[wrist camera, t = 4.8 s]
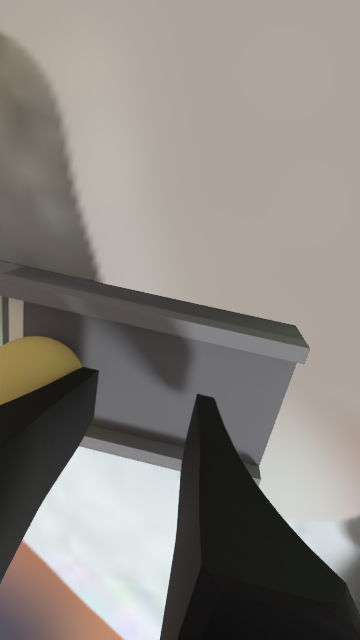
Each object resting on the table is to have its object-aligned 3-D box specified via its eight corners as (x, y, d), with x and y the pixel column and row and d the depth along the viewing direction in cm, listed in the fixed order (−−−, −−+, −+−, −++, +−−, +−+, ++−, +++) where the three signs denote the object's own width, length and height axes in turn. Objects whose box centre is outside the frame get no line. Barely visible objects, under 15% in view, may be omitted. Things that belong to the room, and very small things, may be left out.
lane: (295, 325, 13) (316, 359, 10) (251, 451, 15) (259, 507, 12) (-75, 244, 13) (-153, 254, 11) (-61, 375, 16) (-123, 411, 13)
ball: (35, 307, 12) (-42, 340, 9) (113, 350, 12) (63, 398, 9) (14, 375, 14) (-60, 425, 10) (84, 414, 13) (32, 477, 10)
